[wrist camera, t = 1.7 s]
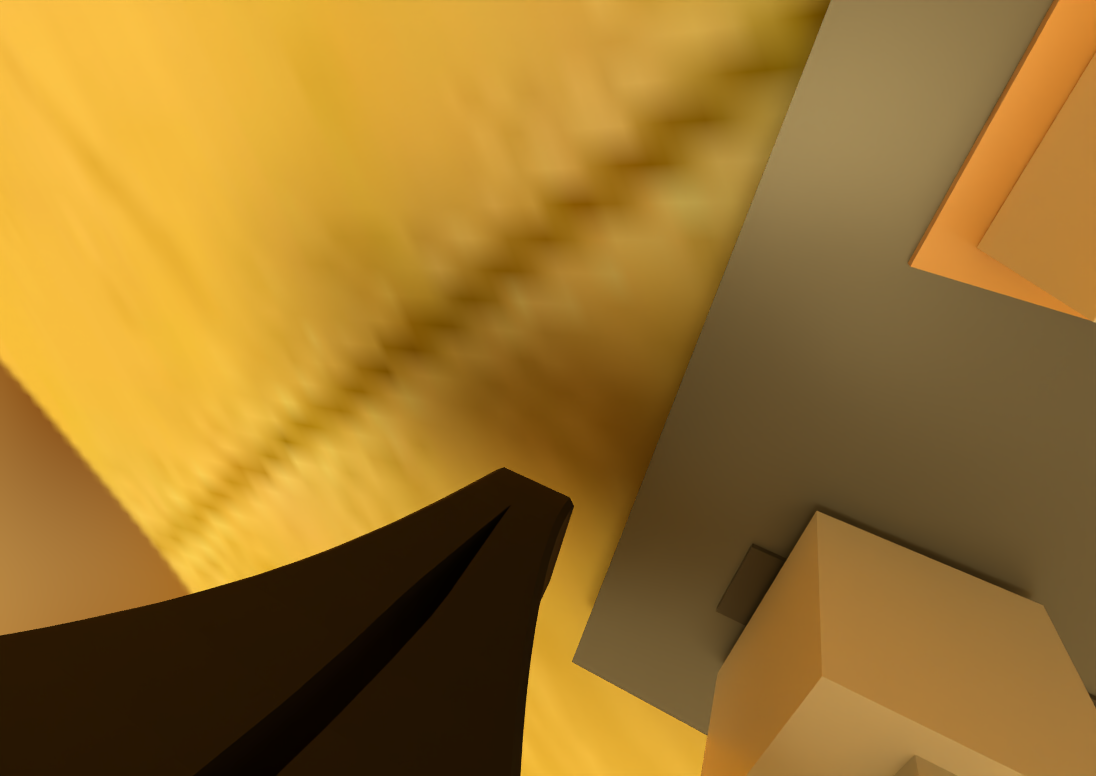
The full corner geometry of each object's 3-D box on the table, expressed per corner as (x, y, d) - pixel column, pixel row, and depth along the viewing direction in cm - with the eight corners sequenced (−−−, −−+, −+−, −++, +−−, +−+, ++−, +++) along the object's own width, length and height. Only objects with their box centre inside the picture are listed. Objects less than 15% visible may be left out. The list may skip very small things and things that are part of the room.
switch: (1043, 605, 7) (1202, 917, 4) (889, 761, 9) (930, 1052, 6) (816, 509, 8) (823, 723, 5) (717, 673, 10) (681, 896, 7)
